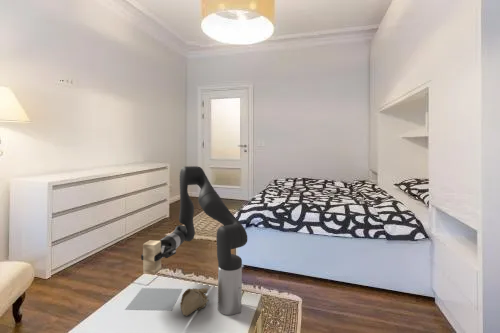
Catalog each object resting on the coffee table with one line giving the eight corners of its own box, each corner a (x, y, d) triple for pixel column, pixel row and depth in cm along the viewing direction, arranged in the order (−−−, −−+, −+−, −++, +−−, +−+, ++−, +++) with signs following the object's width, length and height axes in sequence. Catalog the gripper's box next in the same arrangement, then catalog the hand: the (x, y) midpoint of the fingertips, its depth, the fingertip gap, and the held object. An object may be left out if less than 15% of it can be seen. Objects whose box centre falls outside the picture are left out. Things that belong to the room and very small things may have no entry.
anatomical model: (199, 298, 95) (212, 283, 110) (171, 297, 97) (188, 282, 112) (199, 319, 95) (213, 301, 109) (172, 318, 97) (189, 300, 112)
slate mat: (182, 289, 117) (182, 288, 117) (171, 311, 101) (171, 310, 101) (142, 289, 117) (142, 288, 117) (124, 310, 101) (124, 309, 101)
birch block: (161, 269, 109) (161, 241, 109) (154, 274, 104) (154, 245, 104) (150, 268, 110) (149, 240, 110) (143, 273, 105) (143, 244, 105)
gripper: (154, 234, 122) (132, 247, 105) (183, 236, 120) (165, 250, 103) (154, 250, 123) (132, 266, 106) (183, 253, 120) (165, 269, 103)
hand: (148, 258), depth 104 cm, fingers closed on birch block, 5 cm apart
